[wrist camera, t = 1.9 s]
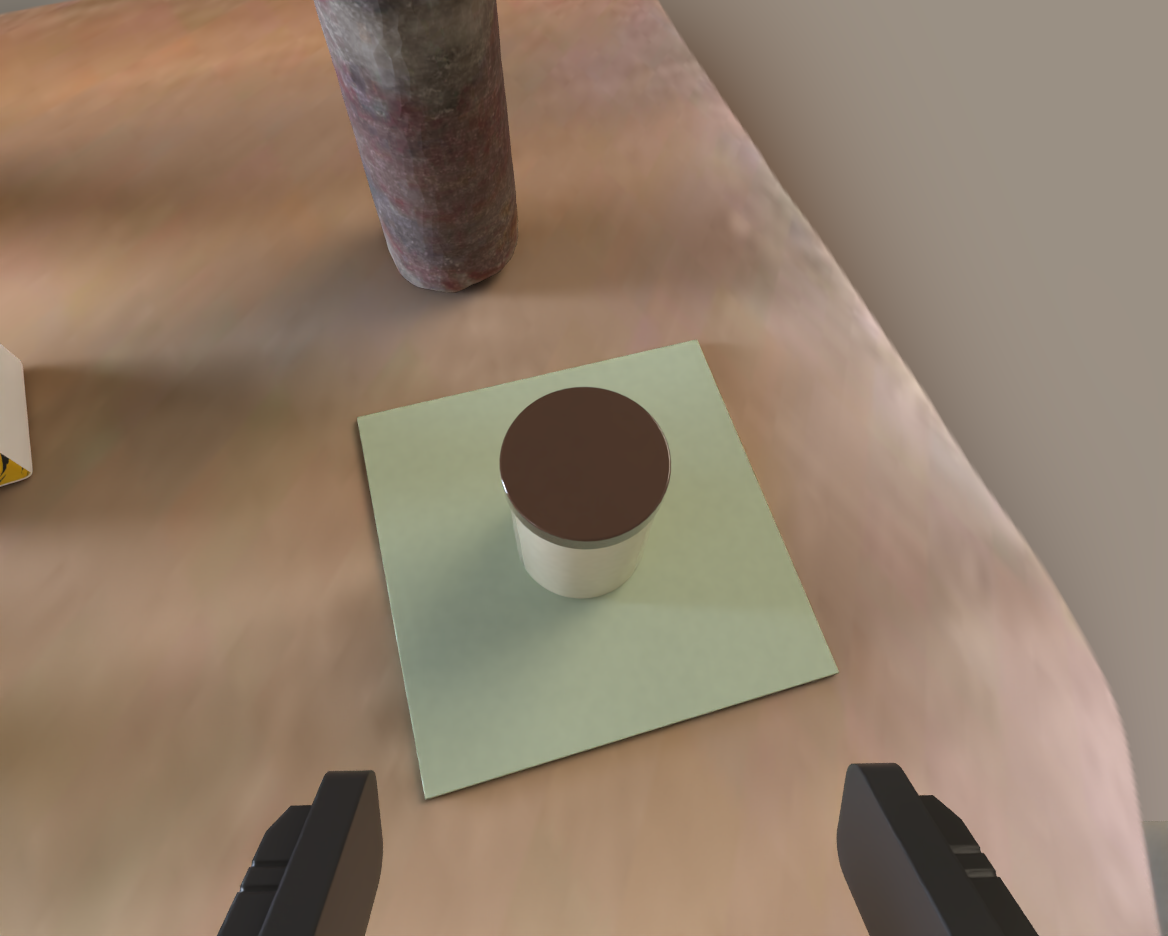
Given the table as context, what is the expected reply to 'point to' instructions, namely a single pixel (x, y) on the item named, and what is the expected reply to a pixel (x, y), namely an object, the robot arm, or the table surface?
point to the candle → (430, 131)
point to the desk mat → (570, 625)
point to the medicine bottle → (13, 421)
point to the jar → (583, 488)
